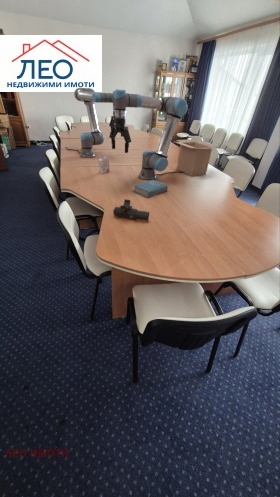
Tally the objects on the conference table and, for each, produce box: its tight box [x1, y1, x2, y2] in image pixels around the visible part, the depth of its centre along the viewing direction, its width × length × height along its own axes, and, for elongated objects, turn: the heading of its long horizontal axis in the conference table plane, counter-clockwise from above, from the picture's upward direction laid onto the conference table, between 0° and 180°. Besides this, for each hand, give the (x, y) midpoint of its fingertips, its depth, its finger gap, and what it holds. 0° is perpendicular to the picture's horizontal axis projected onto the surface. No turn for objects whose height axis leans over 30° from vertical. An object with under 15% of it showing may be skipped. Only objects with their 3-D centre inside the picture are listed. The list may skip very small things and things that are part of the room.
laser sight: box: [112, 199, 150, 222], centre depth 138 cm, size 10×22×10 cm, turn 78°
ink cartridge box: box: [98, 155, 110, 174], centre depth 206 cm, size 9×5×15 cm, turn 138°
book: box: [133, 179, 169, 198], centre depth 177 cm, size 23×16×5 cm
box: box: [174, 139, 220, 177], centre depth 220 cm, size 44×36×27 cm
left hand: (117, 135), depth 224 cm, fingers open, 13 cm apart
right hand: (119, 150), depth 163 cm, fingers open, 13 cm apart
